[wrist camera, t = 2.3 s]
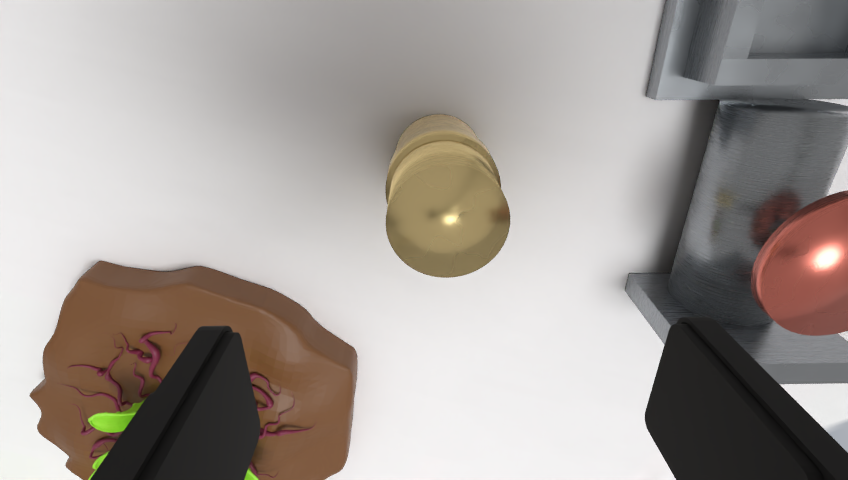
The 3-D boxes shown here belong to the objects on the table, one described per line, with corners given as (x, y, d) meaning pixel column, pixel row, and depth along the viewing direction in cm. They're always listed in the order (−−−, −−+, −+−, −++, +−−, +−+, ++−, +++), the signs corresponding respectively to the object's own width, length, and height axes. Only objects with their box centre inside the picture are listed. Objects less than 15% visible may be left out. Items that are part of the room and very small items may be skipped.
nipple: (389, 110, 22) (377, 159, 15) (488, 109, 22) (521, 158, 15) (392, 202, 24) (383, 282, 17) (482, 201, 24) (510, 281, 17)
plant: (398, 316, 28) (388, 486, 18) (323, 504, 36) (288, 692, 27) (50, 220, 25) (-195, 362, 15) (54, 451, 33) (-101, 641, 23)
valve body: (703, -174, 17) (908, -304, 10) (960, -174, 18) (1346, -302, 10) (604, 291, 27) (674, 395, 20) (771, 289, 27) (901, 392, 20)
